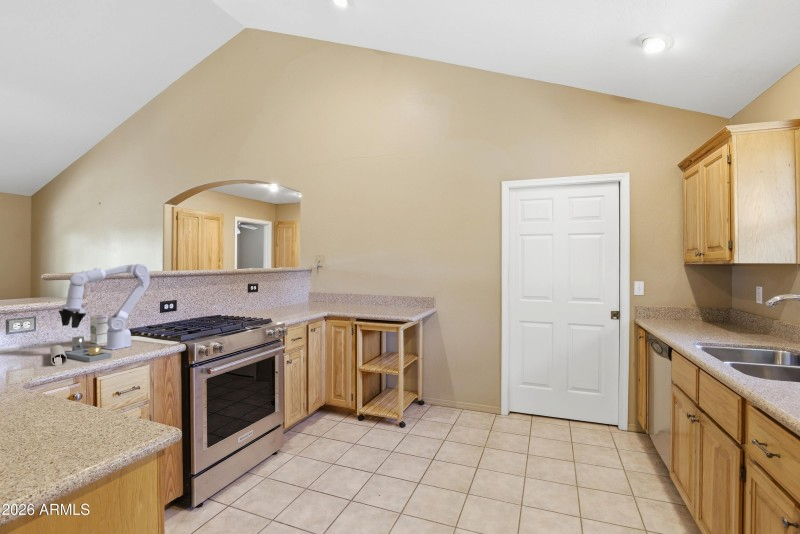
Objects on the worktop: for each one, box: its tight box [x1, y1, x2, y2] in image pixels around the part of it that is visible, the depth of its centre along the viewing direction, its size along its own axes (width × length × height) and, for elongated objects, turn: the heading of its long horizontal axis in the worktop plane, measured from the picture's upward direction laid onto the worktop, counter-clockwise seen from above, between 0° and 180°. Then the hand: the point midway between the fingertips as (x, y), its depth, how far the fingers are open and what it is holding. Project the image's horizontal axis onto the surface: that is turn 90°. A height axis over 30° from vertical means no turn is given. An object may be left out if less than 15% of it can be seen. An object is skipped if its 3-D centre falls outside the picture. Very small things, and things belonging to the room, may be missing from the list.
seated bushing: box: [87, 346, 102, 356], centre depth 178 cm, size 4×4×5 cm
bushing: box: [71, 335, 85, 351], centre depth 189 cm, size 4×4×7 cm
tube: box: [49, 344, 68, 366], centre depth 175 cm, size 5×5×25 cm
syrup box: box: [89, 314, 109, 345], centre depth 208 cm, size 6×6×14 cm
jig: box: [65, 348, 113, 363], centre depth 180 cm, size 9×19×2 cm, turn 67°
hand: (69, 326), depth 186 cm, fingers open, 7 cm apart
